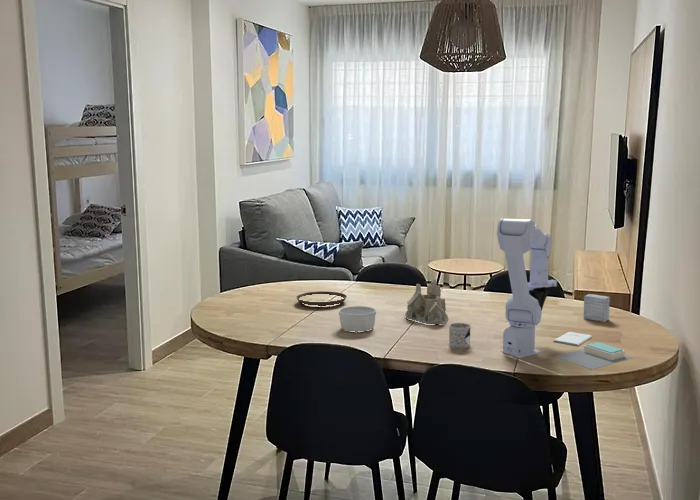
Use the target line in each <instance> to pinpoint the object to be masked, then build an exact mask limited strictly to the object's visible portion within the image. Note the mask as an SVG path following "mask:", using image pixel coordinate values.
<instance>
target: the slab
mask: <svg viewBox="0 0 700 500" xmlns="http://www.w3.org/2000/svg"><path fill="white" fill-rule="evenodd" d="M583 346H584V347H583V349H584V352H586V353H589V354H592V355H595V356H599V357H602V358H605V359H608V360H615V359H619V358H622V357H625V356H626V355H625V354H626V351H625V350H624V349H623V348H620V347H615V346H614V345H613V346H612V345H609V344H606V343H602V342H598V341H597V342H592V343H588V344H585V345H583Z"/></svg>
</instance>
